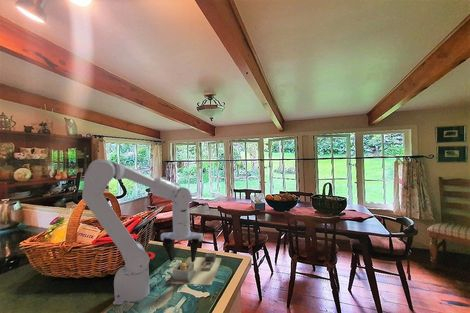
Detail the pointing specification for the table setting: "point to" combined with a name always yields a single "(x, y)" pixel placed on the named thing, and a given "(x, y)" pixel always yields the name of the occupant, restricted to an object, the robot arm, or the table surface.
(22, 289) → the table surface
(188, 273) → the square metal tube
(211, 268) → the board
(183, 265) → the square tray with peg
